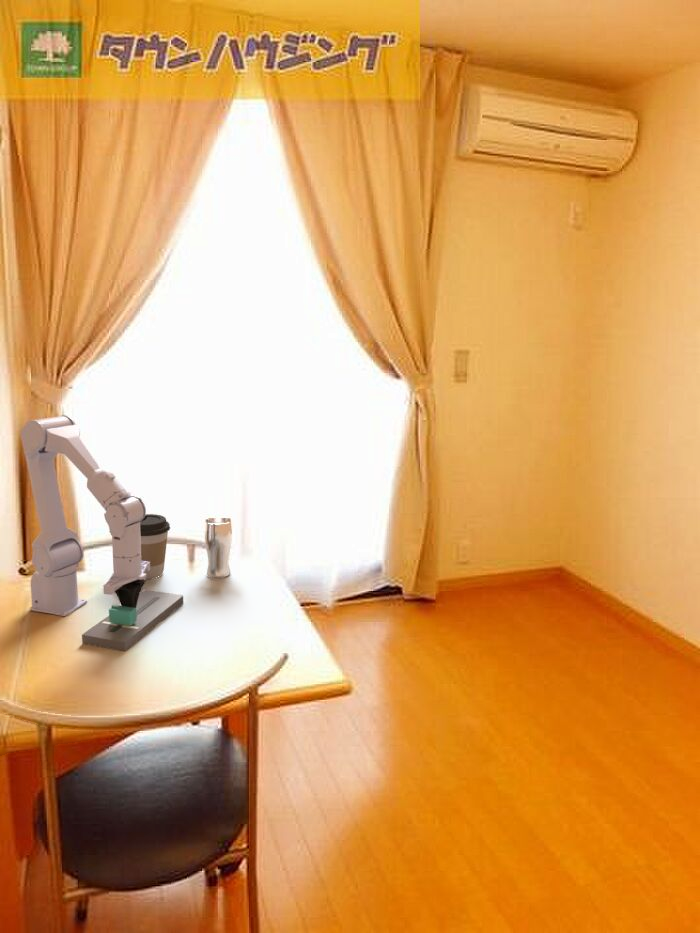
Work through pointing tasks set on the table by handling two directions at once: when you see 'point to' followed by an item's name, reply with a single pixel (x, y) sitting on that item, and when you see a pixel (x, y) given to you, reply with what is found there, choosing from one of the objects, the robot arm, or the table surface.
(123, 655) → the table surface
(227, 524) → the beer glass
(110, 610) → the fader tab
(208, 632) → the table surface
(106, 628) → the fader console
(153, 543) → the coffee cup
